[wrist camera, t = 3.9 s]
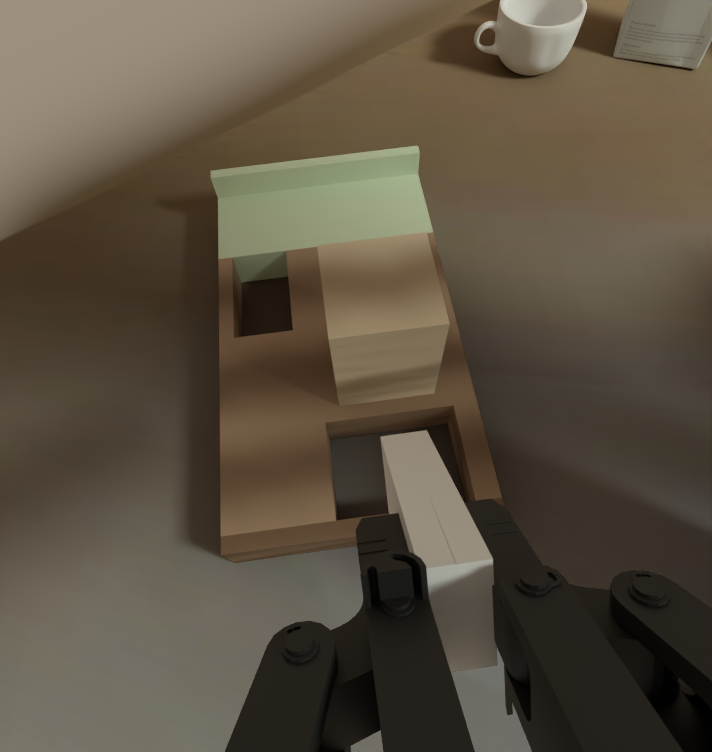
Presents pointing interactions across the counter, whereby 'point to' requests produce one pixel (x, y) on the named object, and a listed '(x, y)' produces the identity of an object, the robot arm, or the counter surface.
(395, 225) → the pad
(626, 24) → the skincare box
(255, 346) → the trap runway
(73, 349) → the counter surface
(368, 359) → the maple block
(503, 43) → the teacup
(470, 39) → the counter surface
